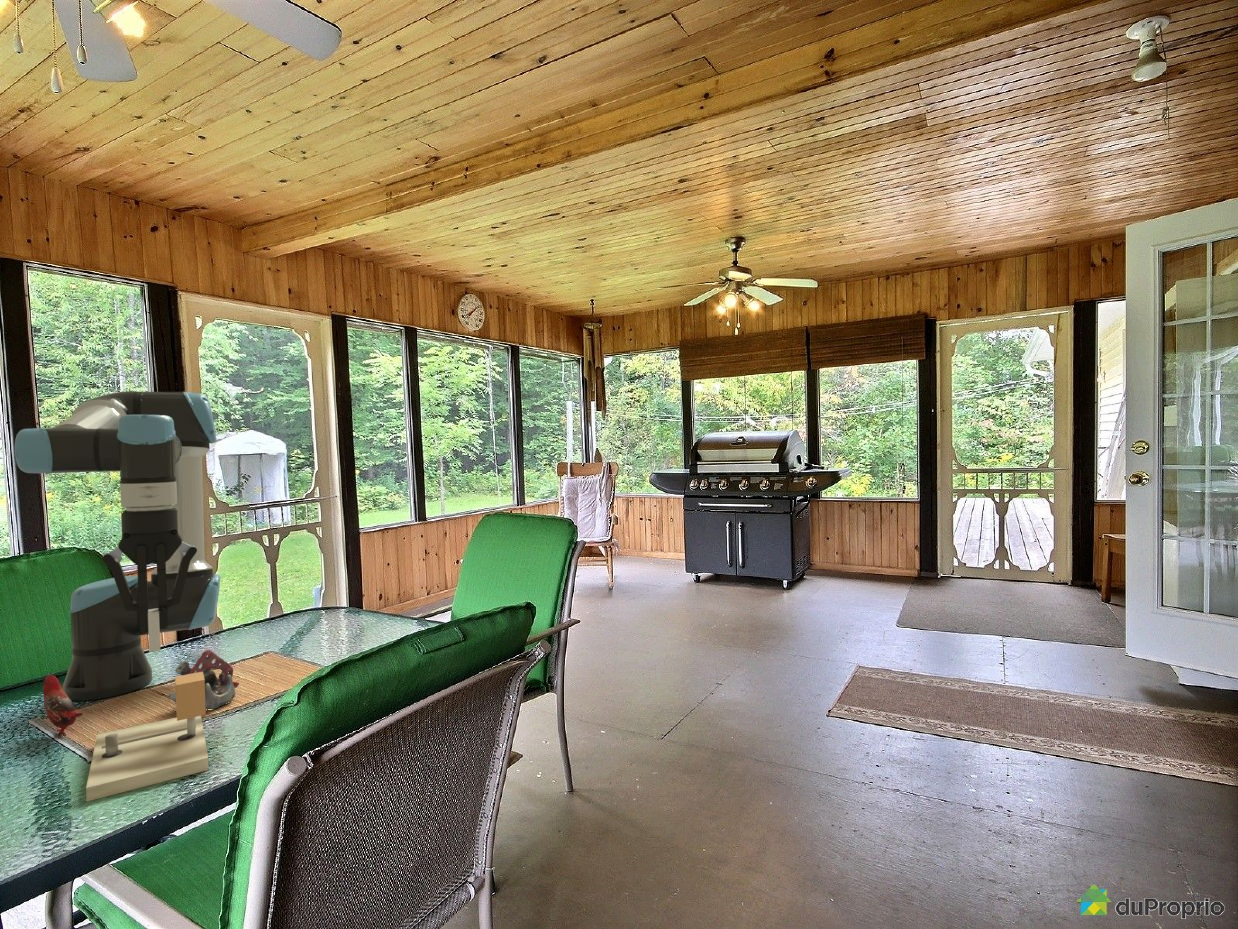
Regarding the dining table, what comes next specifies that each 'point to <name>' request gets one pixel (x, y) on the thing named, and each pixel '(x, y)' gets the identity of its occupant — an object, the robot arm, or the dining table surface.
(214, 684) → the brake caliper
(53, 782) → the dining table surface
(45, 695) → the decorative bird figurine
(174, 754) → the wooden peg board
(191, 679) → the tan block on peg
